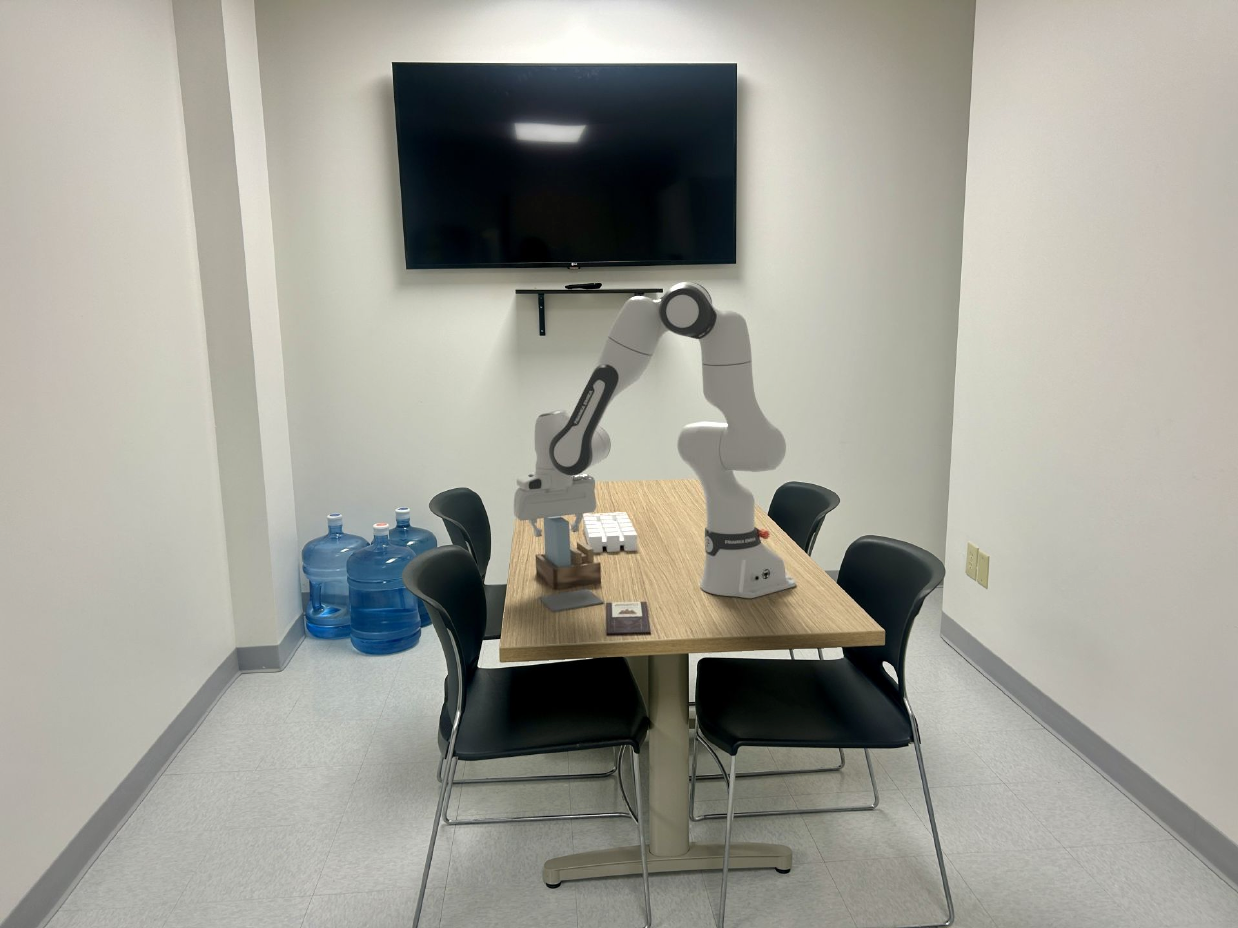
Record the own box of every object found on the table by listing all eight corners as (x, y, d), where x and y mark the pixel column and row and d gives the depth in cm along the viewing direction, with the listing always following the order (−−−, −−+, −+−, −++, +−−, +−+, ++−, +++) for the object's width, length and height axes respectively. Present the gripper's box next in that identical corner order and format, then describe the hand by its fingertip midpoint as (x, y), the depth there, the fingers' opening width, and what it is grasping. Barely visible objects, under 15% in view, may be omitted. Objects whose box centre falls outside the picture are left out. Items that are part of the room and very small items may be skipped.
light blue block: (557, 567, 207) (555, 513, 204) (571, 578, 198) (569, 521, 195) (545, 569, 205) (543, 514, 203) (558, 580, 196) (556, 523, 194)
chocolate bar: (606, 632, 165) (606, 602, 183) (606, 637, 165) (606, 606, 183) (650, 631, 165) (646, 601, 183) (650, 636, 166) (646, 605, 183)
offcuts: (579, 563, 209) (578, 539, 208) (594, 574, 200) (593, 549, 199) (563, 566, 207) (562, 541, 206) (577, 577, 198) (576, 551, 197)
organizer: (589, 536, 224) (581, 508, 258) (589, 553, 224) (581, 523, 259) (637, 534, 225) (622, 506, 259) (637, 551, 226) (623, 521, 260)
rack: (580, 567, 211) (580, 548, 210) (601, 582, 199) (600, 562, 198) (536, 573, 207) (535, 554, 206) (554, 589, 194) (553, 569, 193)
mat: (587, 590, 193) (587, 588, 193) (603, 603, 184) (603, 601, 184) (538, 598, 188) (538, 596, 188) (552, 611, 179) (552, 610, 179)
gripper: (590, 471, 204) (591, 525, 206) (510, 479, 196) (513, 535, 199) (599, 475, 198) (601, 531, 201) (517, 484, 190) (520, 542, 193)
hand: (556, 533), depth 200 cm, fingers open, 8 cm apart
